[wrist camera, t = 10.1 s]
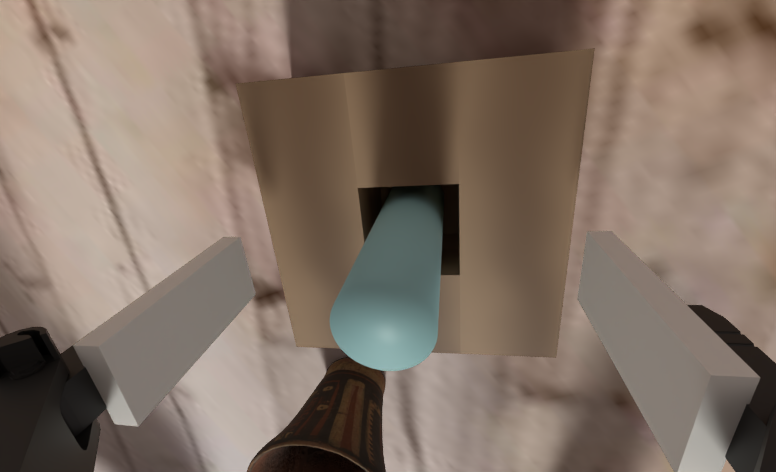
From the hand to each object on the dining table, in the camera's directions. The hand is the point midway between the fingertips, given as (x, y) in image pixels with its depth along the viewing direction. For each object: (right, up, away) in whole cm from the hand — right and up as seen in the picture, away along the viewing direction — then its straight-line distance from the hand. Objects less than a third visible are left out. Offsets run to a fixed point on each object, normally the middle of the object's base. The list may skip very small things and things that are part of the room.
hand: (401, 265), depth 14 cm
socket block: (+1, +4, +8) cm, 9 cm away
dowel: (+1, +3, +7) cm, 8 cm away
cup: (-3, -10, +16) cm, 19 cm away
